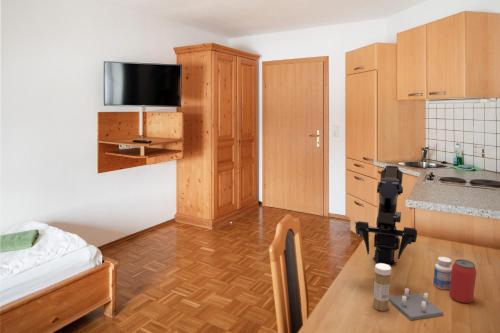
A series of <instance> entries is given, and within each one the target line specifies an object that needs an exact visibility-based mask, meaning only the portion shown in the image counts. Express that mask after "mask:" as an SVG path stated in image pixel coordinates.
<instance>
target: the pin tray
mask: <svg viewBox="0 0 500 333" xmlns="http://www.w3.org/2000/svg"><path fill="white" fill-rule="evenodd" d="M388 303H390V304H391V305H392V306H394V307H395V308H396V309H397V310H398V311H399V312H400V313H402V315H403V316H405V317H406V318H407V319H408V320H409V321H417V320H422V319H427V318H434V317H441V316H444V311H443V310H441V309H440V308H439V307H437V306H436V305H434V304H433V303H432V302H431V301H429V293H428V292H424V293H423V295H421V294H420V293H418V292H415V293H410V289H409V288H408V287H405V288H404V294H400V295H395V296H394V295H393V296H389V300H388Z"/></svg>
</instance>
